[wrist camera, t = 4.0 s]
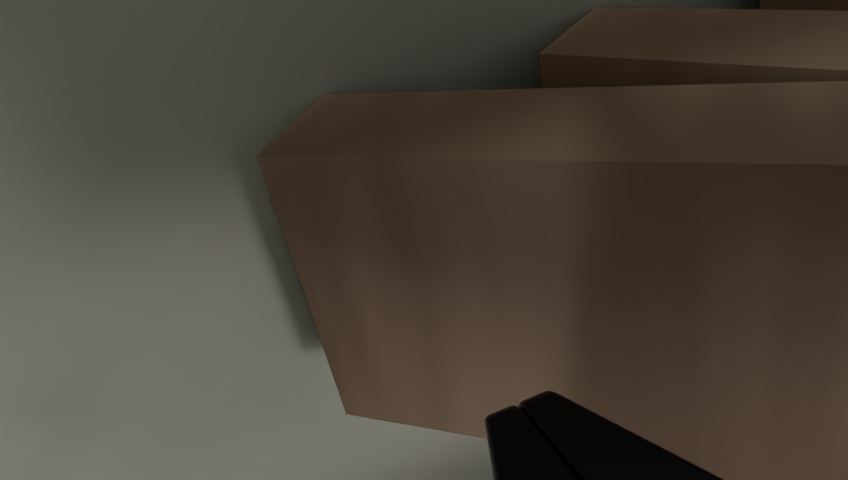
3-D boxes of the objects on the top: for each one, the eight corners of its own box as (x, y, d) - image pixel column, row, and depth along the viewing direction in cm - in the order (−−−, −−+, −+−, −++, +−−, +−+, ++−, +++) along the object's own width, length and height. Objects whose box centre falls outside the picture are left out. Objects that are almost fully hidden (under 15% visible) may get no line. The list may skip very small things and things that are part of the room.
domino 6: (324, 94, 12) (983, 77, 9) (393, 337, 15) (918, 401, 11) (256, 155, 11) (1017, 166, 7) (346, 413, 13) (933, 515, 10)
